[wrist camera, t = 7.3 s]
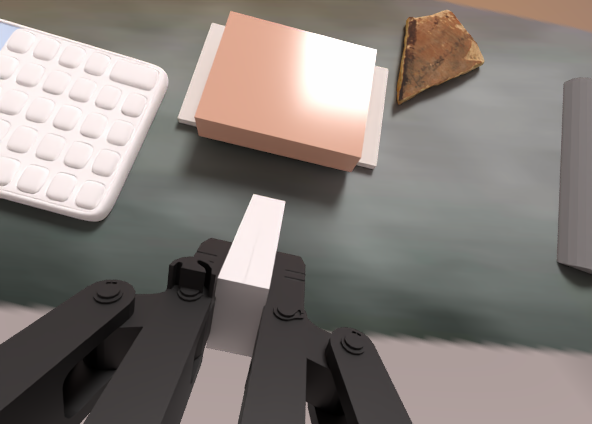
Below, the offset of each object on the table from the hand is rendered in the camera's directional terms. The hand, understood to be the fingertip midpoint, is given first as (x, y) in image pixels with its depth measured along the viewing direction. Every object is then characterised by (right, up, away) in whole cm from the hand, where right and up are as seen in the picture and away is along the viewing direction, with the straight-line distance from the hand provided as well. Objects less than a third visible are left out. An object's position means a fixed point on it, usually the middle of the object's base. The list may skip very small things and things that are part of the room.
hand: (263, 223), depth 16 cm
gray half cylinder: (+27, +4, +16) cm, 32 cm away
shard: (+15, +14, +17) cm, 27 cm away
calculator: (-20, +8, +10) cm, 24 cm away
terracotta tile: (0, +5, +9) cm, 11 cm away
